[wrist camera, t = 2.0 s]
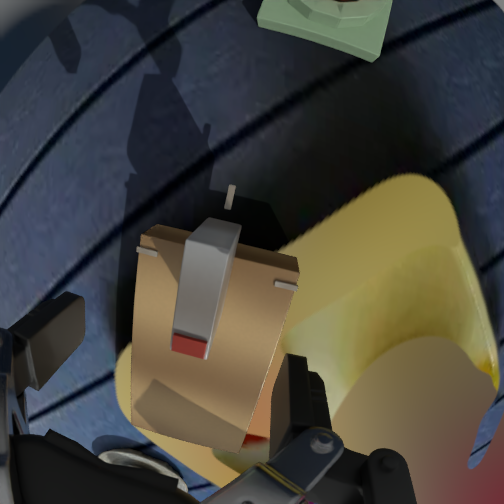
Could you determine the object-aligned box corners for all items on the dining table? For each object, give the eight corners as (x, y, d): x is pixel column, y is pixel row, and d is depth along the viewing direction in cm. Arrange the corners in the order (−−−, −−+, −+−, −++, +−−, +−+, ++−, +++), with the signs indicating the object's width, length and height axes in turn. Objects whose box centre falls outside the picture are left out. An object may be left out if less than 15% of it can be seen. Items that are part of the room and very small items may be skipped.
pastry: (89, 461, 32) (76, 484, 28) (120, 431, 29) (105, 460, 25) (161, 503, 34) (154, 527, 30) (207, 481, 31) (201, 511, 26)
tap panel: (165, 165, 21) (148, 167, 18) (314, 199, 21) (321, 207, 18) (140, 403, 27) (129, 425, 24) (242, 431, 27) (239, 455, 24)
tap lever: (208, 216, 19) (183, 240, 14) (242, 224, 19) (229, 251, 14) (191, 307, 20) (167, 353, 15) (221, 315, 20) (206, 363, 15)
